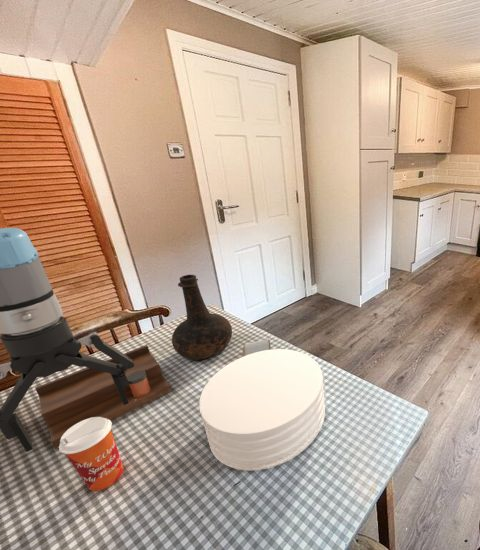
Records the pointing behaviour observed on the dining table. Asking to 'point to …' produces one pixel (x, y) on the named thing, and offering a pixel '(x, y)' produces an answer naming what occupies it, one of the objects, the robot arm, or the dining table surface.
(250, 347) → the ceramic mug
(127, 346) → the dining table surface
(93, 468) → the paper cup
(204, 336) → the glass bottle
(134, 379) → the small spice jar
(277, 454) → the plate stack
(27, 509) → the dining table surface
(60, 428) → the spice rack
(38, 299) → the robot arm
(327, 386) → the dining table surface
